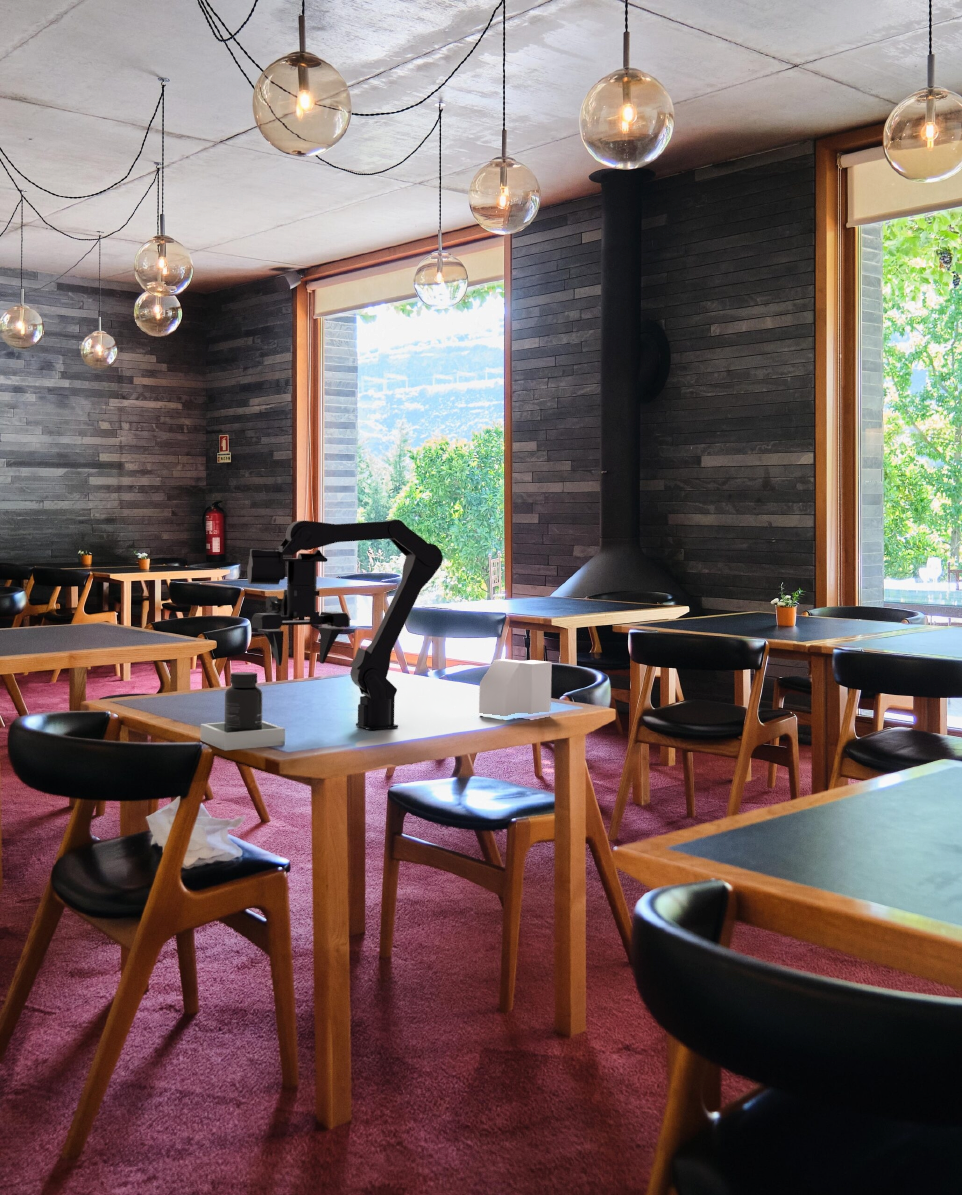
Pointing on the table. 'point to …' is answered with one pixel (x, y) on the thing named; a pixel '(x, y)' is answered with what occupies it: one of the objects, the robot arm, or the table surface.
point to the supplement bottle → (243, 703)
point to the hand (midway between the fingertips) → (300, 664)
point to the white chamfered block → (516, 687)
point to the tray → (242, 736)
